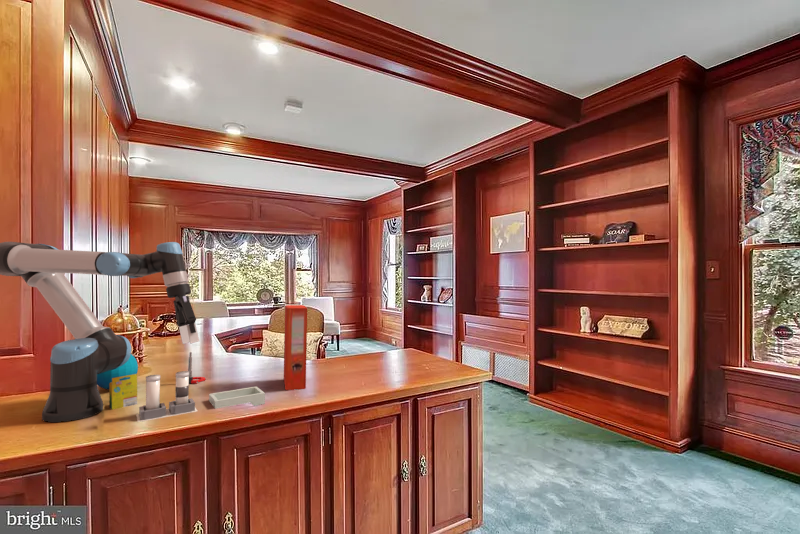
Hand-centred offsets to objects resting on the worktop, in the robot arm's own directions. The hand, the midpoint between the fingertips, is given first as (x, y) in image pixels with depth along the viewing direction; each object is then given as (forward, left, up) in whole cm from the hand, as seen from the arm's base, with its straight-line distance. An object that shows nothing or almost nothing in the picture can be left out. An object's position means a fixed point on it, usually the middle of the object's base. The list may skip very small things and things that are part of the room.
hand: (190, 342), depth 141 cm
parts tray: (+13, -14, -21) cm, 28 cm away
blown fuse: (-4, -14, -19) cm, 24 cm away
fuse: (-12, -14, -19) cm, 27 cm away
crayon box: (-19, +2, -21) cm, 29 cm away
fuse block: (-8, -14, -21) cm, 26 cm away
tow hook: (+6, +29, -21) cm, 36 cm away
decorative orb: (-21, +34, -21) cm, 45 cm away
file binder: (+39, 0, -21) cm, 44 cm away
